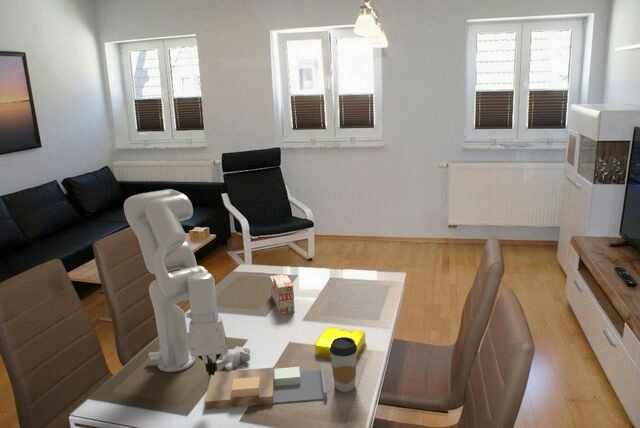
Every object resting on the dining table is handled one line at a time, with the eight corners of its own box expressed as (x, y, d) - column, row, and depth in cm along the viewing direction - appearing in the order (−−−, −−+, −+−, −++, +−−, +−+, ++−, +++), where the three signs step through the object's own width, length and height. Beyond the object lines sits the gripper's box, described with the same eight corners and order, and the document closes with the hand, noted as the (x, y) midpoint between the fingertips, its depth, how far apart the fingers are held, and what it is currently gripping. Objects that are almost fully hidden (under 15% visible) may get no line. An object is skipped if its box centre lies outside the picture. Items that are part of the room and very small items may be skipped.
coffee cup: (356, 378, 165) (355, 335, 161) (359, 393, 157) (358, 348, 153) (330, 379, 165) (328, 336, 161) (332, 395, 157) (330, 350, 153)
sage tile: (274, 386, 162) (274, 379, 161) (274, 375, 168) (274, 368, 167) (300, 383, 163) (300, 376, 162) (299, 373, 168) (299, 366, 168)
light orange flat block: (232, 397, 154) (231, 390, 153) (234, 386, 159) (233, 378, 159) (259, 395, 154) (258, 387, 153) (260, 383, 160) (259, 376, 159)
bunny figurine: (256, 346, 180) (231, 362, 167) (256, 360, 181) (232, 377, 168) (233, 341, 184) (207, 357, 171) (234, 355, 185) (208, 371, 172)
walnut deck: (205, 409, 153) (204, 401, 152) (212, 379, 168) (211, 372, 168) (273, 403, 154) (272, 396, 153) (274, 374, 169) (273, 367, 169)
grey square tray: (273, 403, 154) (272, 396, 153) (274, 374, 169) (273, 367, 169) (327, 399, 155) (326, 392, 154) (323, 370, 170) (322, 364, 170)
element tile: (366, 341, 189) (366, 329, 187) (355, 362, 175) (354, 349, 174) (327, 336, 194) (327, 324, 193) (313, 356, 180) (312, 343, 179)
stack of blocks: (271, 295, 233) (269, 269, 230) (284, 293, 234) (283, 267, 231) (280, 315, 213) (278, 287, 210) (295, 312, 214) (293, 284, 211)
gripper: (176, 323, 146) (184, 382, 150) (229, 318, 146) (236, 377, 150) (181, 312, 153) (189, 369, 157) (232, 308, 154) (238, 364, 158)
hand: (212, 373), depth 154 cm, fingers closed
